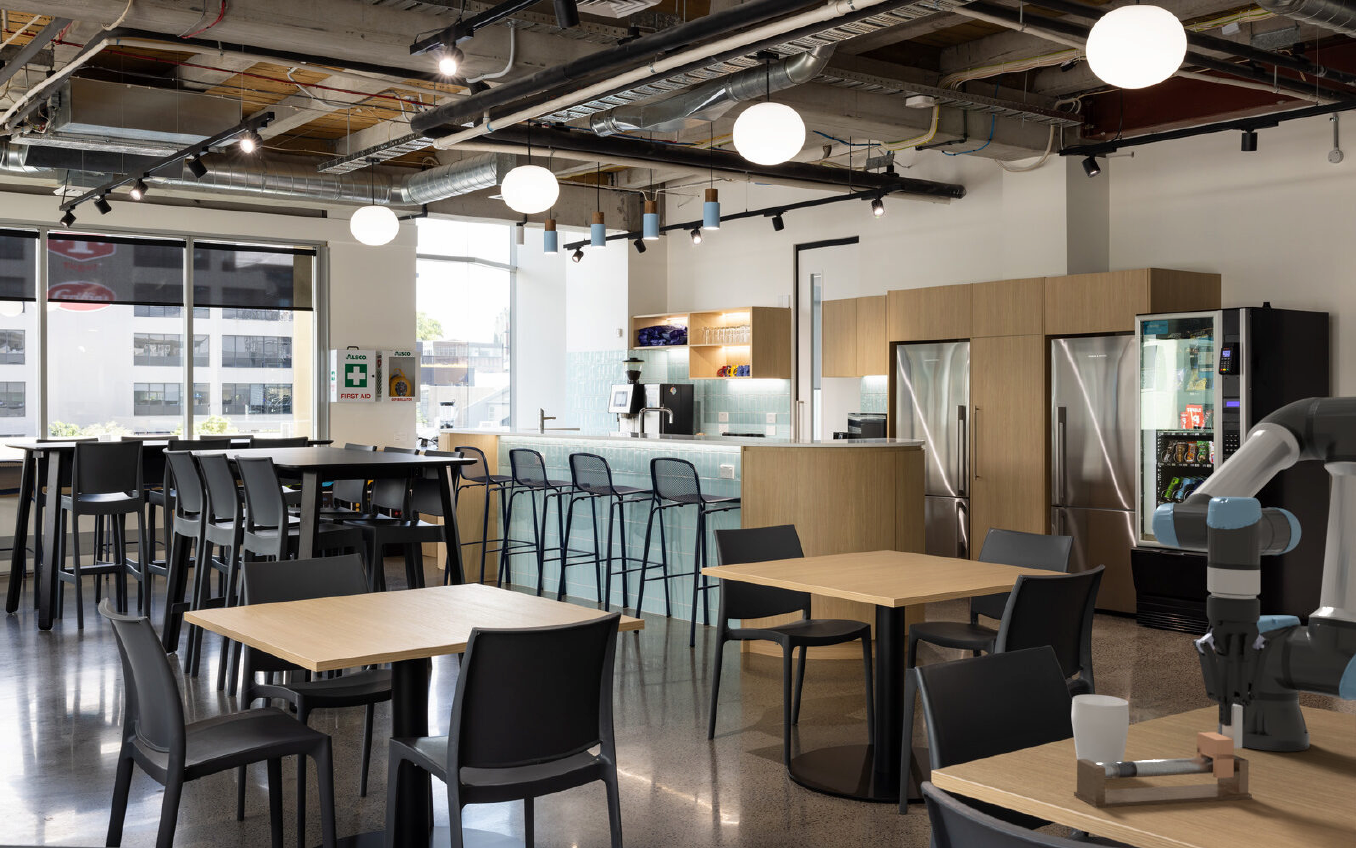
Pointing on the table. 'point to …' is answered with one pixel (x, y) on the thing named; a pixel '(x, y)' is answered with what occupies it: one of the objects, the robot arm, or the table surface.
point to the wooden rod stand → (1096, 795)
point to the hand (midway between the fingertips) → (1232, 746)
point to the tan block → (1217, 752)
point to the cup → (1100, 727)
